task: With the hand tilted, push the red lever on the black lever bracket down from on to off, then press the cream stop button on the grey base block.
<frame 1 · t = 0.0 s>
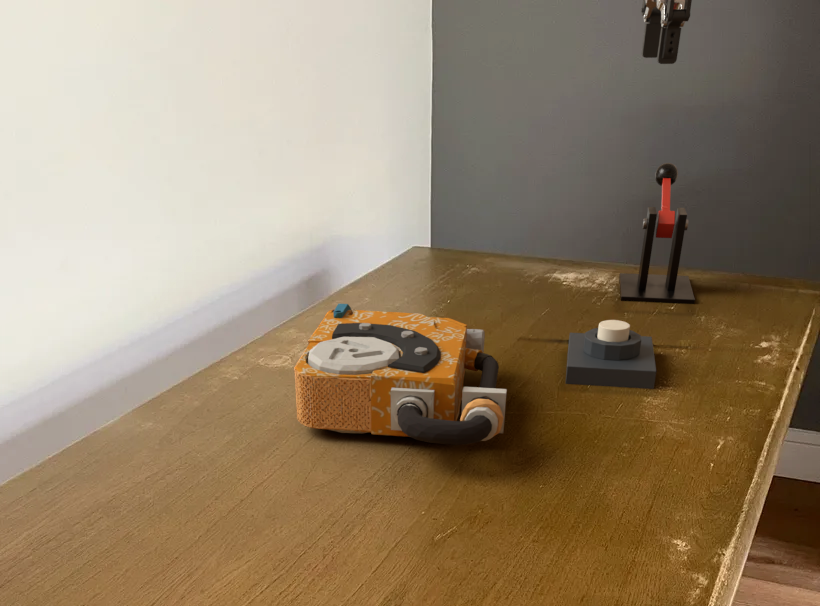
hand: (657, 60, 118), 30 cm above the table, tool pointing down, fingers open, 8 cm apart
stop button: (613, 331, 113), point 4 cm above the table, slide at 0.1 cm
red lever: (665, 198, 136), point 12 cm above the table, hinge at 25.0°
device: (402, 413, 106), on the table
lever bracket: (654, 296, 139), on the table
base block: (608, 368, 116), on the table
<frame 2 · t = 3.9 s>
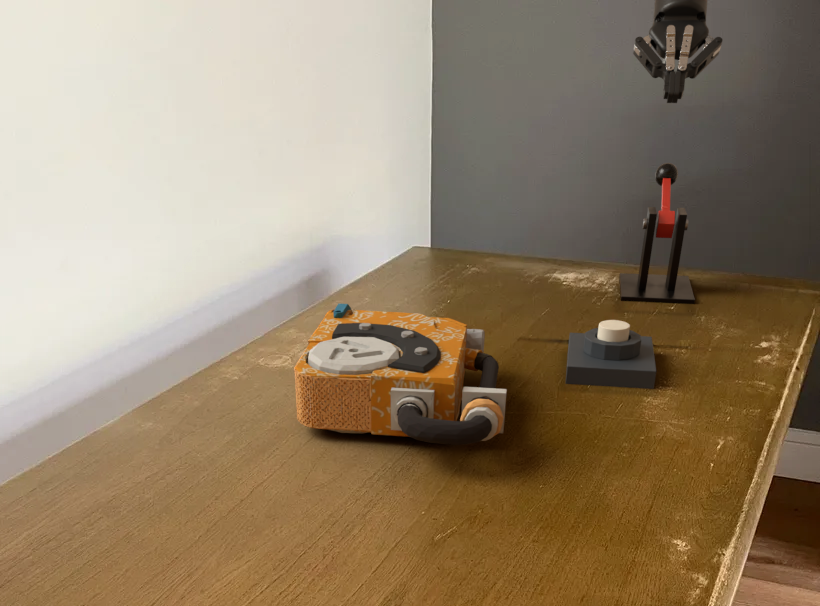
hand: (672, 99, 139), 24 cm above the table, tool tilted 45°, fingers closed
nothing on the table moved.
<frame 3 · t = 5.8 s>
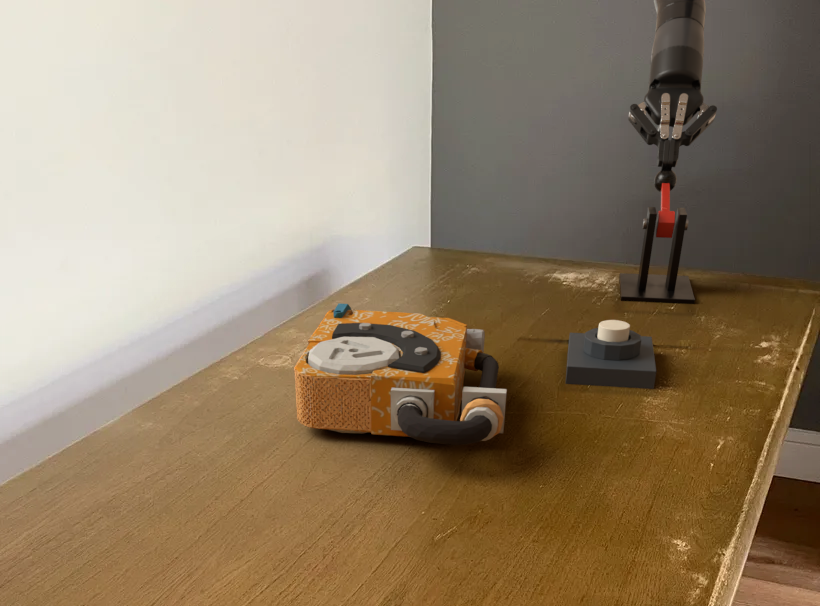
hand: (667, 167, 139), 15 cm above the table, tool tilted 45°, fingers closed
red lever: (665, 201, 137), point 12 cm above the table, hinge at 20.0°, touching gripper
everything else where it was.
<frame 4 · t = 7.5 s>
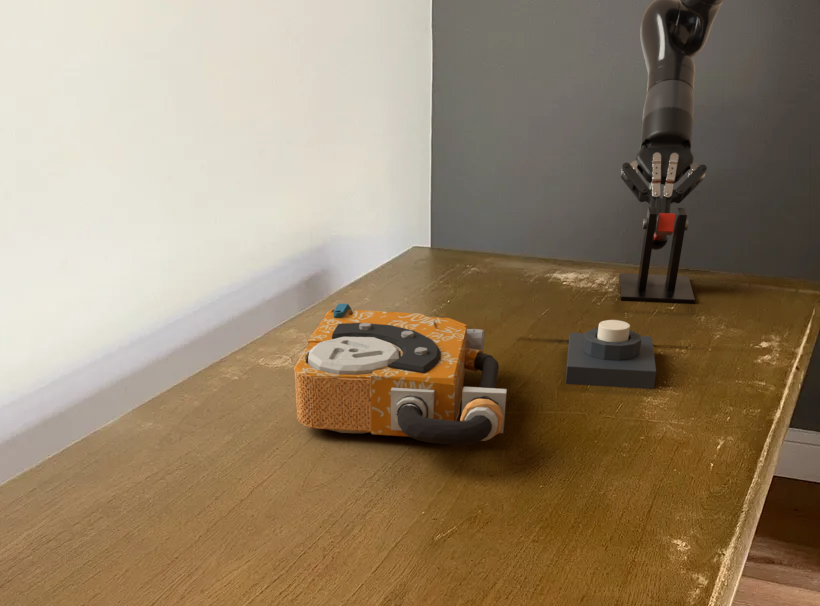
hand: (658, 224, 143), 8 cm above the table, tool tilted 45°, fingers closed
red lever: (660, 231, 139), point 8 cm above the table, hinge at -23.0°
everything else where it was.
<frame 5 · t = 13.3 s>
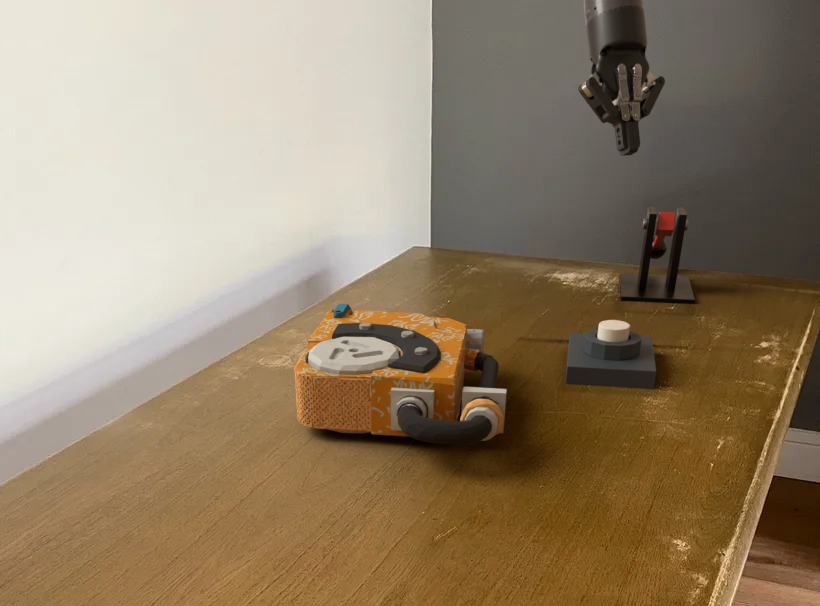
hand: (629, 153, 129), 19 cm above the table, tool tilted 25°, fingers closed
red lever: (660, 236, 139), point 7 cm above the table, hinge at -30.1°
everything else where it was.
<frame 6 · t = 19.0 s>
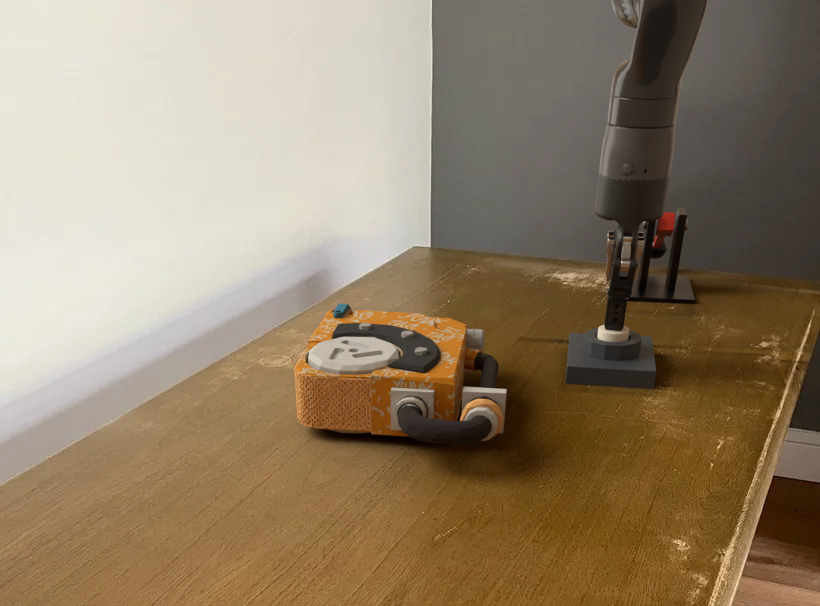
hand: (613, 328, 113), 5 cm above the table, tool pointing down, fingers closed
stop button: (613, 335, 113), point 4 cm above the table, slide at -0.4 cm, touching gripper
everything else where it was.
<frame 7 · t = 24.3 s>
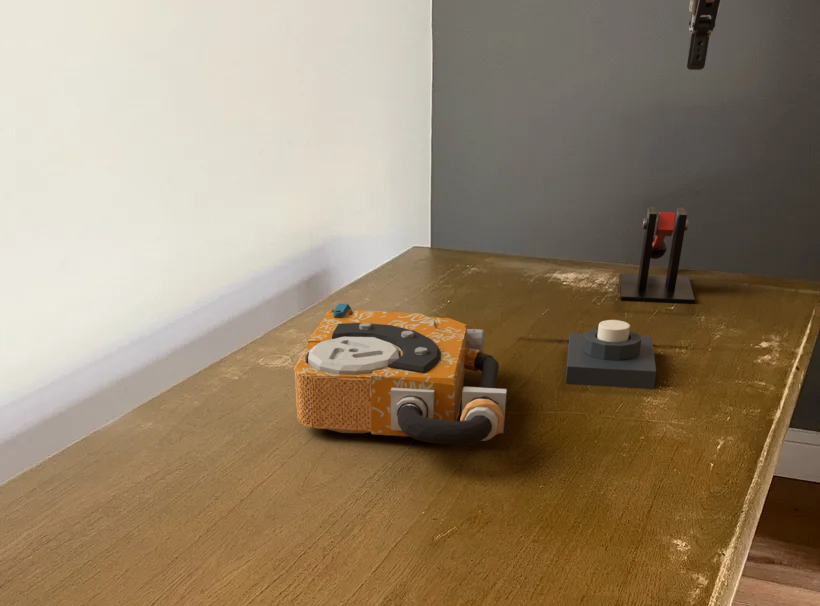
hand: (694, 68, 124), 29 cm above the table, tool pointing down, fingers closed
stop button: (613, 331, 113), point 4 cm above the table, slide at 0.1 cm
everything else where it was.
at the end: red lever at -30° (first picture: +25°); stop button pushed in 1.1 cm at the most during the clip, back to where it started at the end; stop button slide at 0.1 cm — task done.
